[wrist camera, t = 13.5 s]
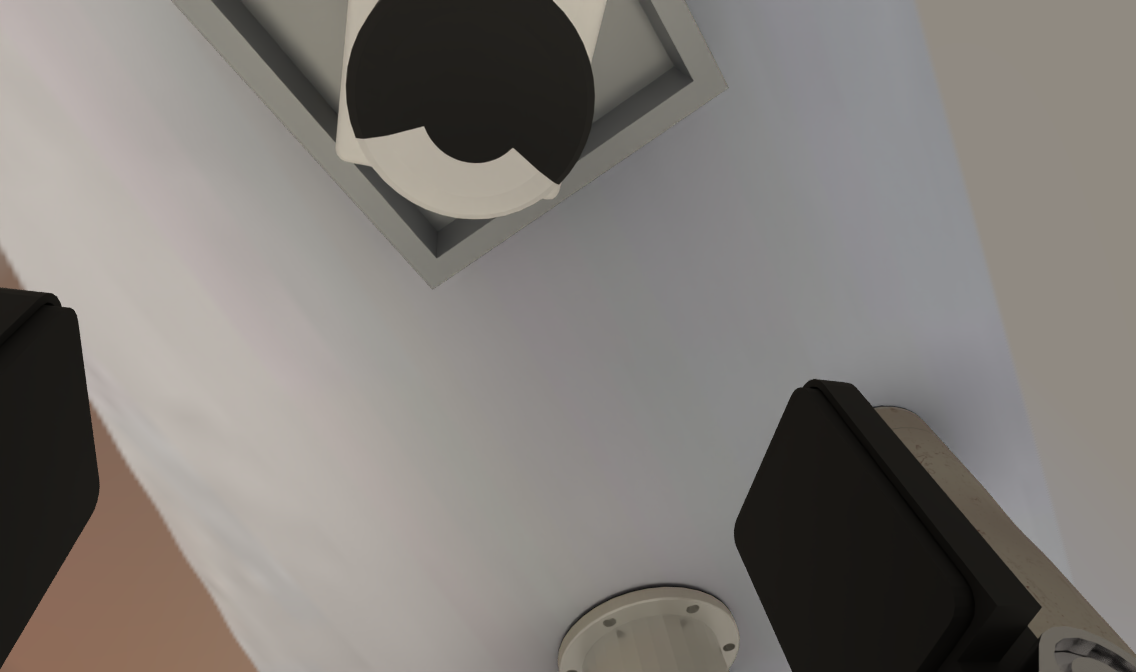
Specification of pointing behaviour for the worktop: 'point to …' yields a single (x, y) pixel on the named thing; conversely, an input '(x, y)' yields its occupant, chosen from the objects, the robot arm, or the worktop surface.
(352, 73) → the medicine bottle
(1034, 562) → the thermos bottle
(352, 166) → the tray
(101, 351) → the worktop surface
